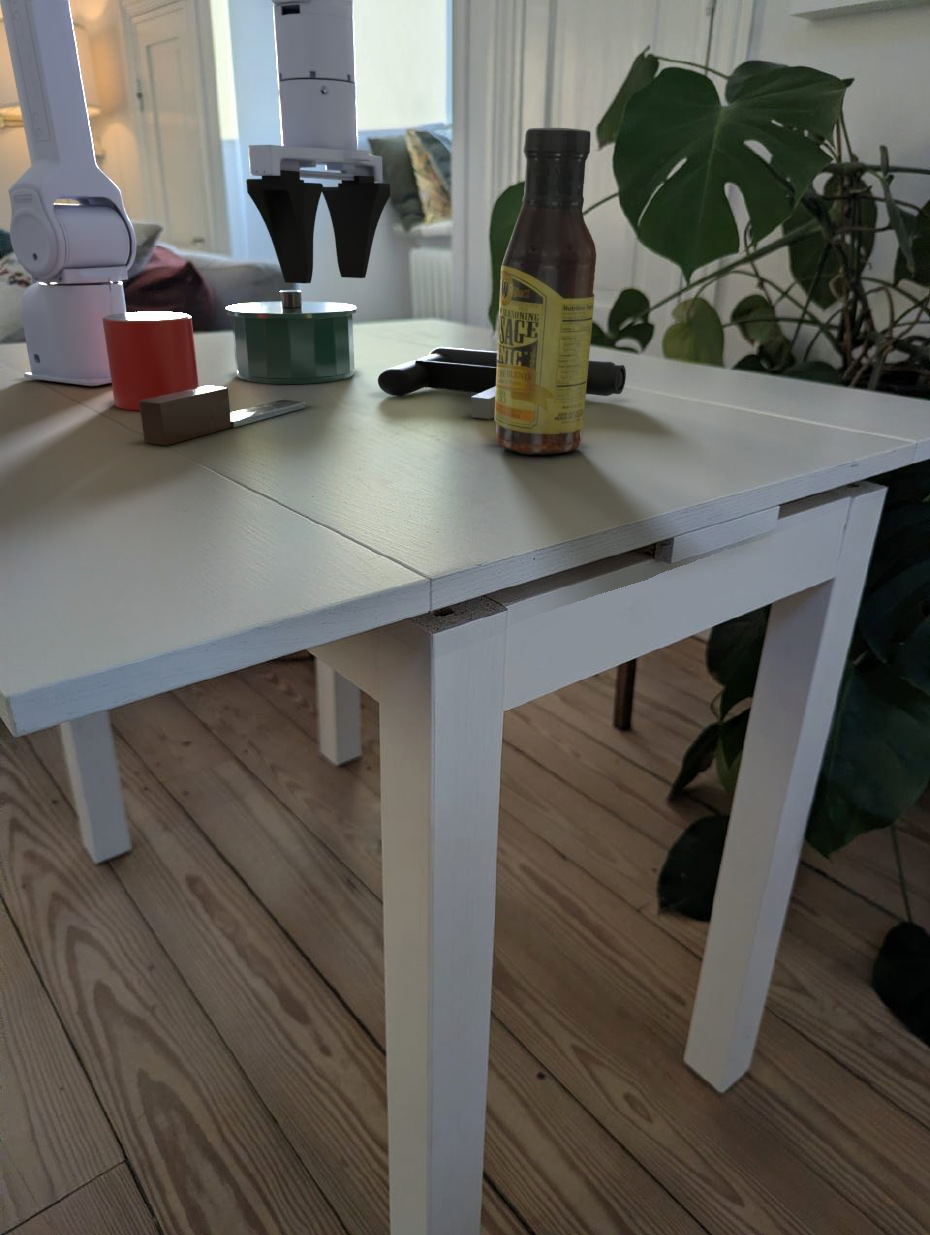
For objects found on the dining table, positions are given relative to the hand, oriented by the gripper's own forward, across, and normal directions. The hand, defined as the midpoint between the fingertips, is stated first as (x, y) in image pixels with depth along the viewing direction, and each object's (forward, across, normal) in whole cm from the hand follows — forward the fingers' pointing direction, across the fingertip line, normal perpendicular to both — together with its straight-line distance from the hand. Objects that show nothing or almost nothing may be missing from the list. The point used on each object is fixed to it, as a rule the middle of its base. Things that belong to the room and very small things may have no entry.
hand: (326, 280), depth 73 cm
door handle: (+10, +10, -10) cm, 18 cm away
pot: (+10, +12, +13) cm, 20 cm away
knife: (+10, -9, +3) cm, 14 cm away
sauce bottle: (+10, -5, -21) cm, 24 cm away
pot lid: (+4, +12, +13) cm, 18 cm away
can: (+10, -6, +14) cm, 18 cm away
